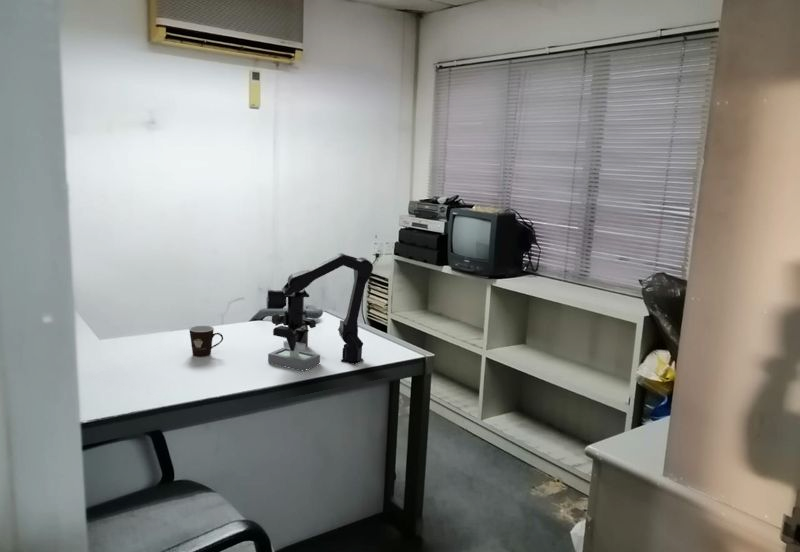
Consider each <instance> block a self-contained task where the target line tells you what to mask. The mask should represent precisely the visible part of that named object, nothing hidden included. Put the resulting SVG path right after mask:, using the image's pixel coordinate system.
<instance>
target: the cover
mask: <svg viewBox="0 0 800 552" xmlns="http://www.w3.org/2000/svg"><path fill="white" fill-rule="evenodd" d="M284 347H287V348H290V347H289V344H288V341H287V339H285V340H284V341H283V348H284ZM306 349H307V348H306V344H304V343H300V342H296V345H295V348H294V351H291V350H290V351H284V352H281V353H279V355H283V356H287V357H291V358H296V359H300V360H305V359H307V358H310V357H312V356H308V355H303V354H299V350H300V351H304V350H306Z"/></svg>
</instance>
